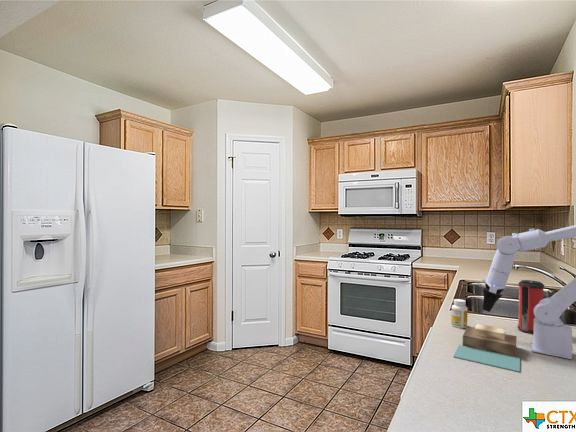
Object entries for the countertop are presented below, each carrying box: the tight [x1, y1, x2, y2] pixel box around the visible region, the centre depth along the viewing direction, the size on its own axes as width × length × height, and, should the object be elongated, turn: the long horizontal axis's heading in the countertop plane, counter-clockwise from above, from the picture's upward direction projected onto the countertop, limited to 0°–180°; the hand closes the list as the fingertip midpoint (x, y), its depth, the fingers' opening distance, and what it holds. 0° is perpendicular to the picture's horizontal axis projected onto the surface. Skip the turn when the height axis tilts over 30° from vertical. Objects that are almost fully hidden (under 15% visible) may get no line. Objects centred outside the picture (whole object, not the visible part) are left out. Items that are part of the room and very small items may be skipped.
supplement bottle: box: [450, 298, 468, 329], centre depth 129 cm, size 5×5×10 cm
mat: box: [453, 344, 521, 373], centre depth 100 cm, size 16×11×1 cm
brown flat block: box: [462, 326, 518, 357], centre depth 109 cm, size 14×10×4 cm
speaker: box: [517, 279, 546, 335], centre depth 125 cm, size 8×8×18 cm
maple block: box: [474, 323, 506, 340], centre depth 109 cm, size 8×6×2 cm
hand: (487, 307), depth 117 cm, fingers open, 7 cm apart
